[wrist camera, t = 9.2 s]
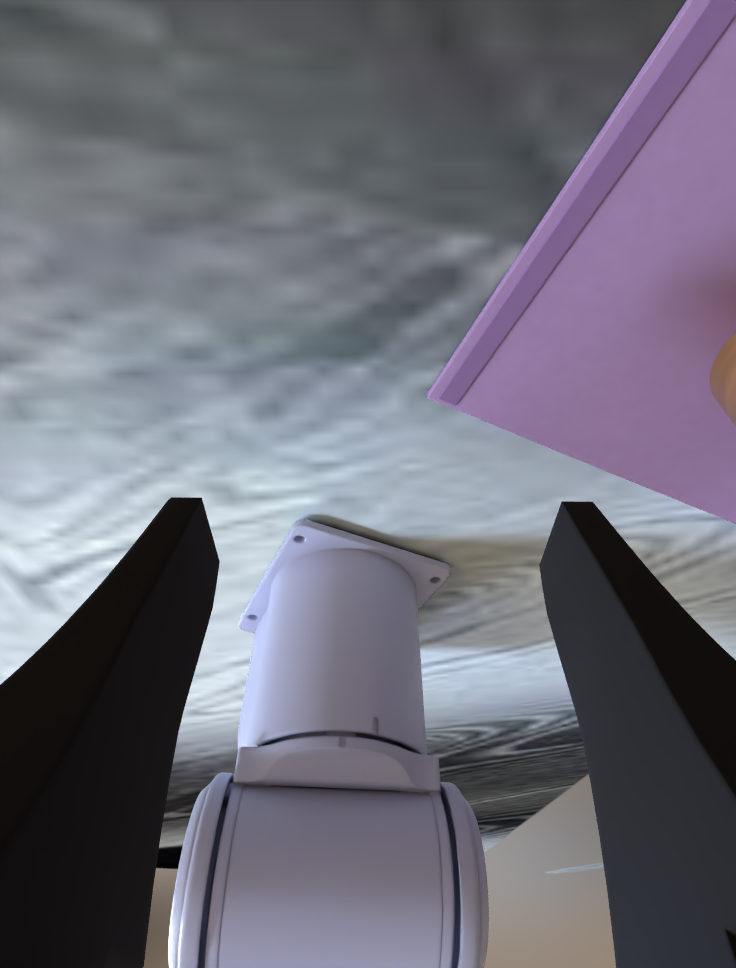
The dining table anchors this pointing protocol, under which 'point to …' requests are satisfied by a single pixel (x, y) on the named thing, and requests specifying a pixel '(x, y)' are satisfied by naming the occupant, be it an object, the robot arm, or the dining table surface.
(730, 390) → the salt mill
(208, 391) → the dining table surface
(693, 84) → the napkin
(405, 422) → the dining table surface
